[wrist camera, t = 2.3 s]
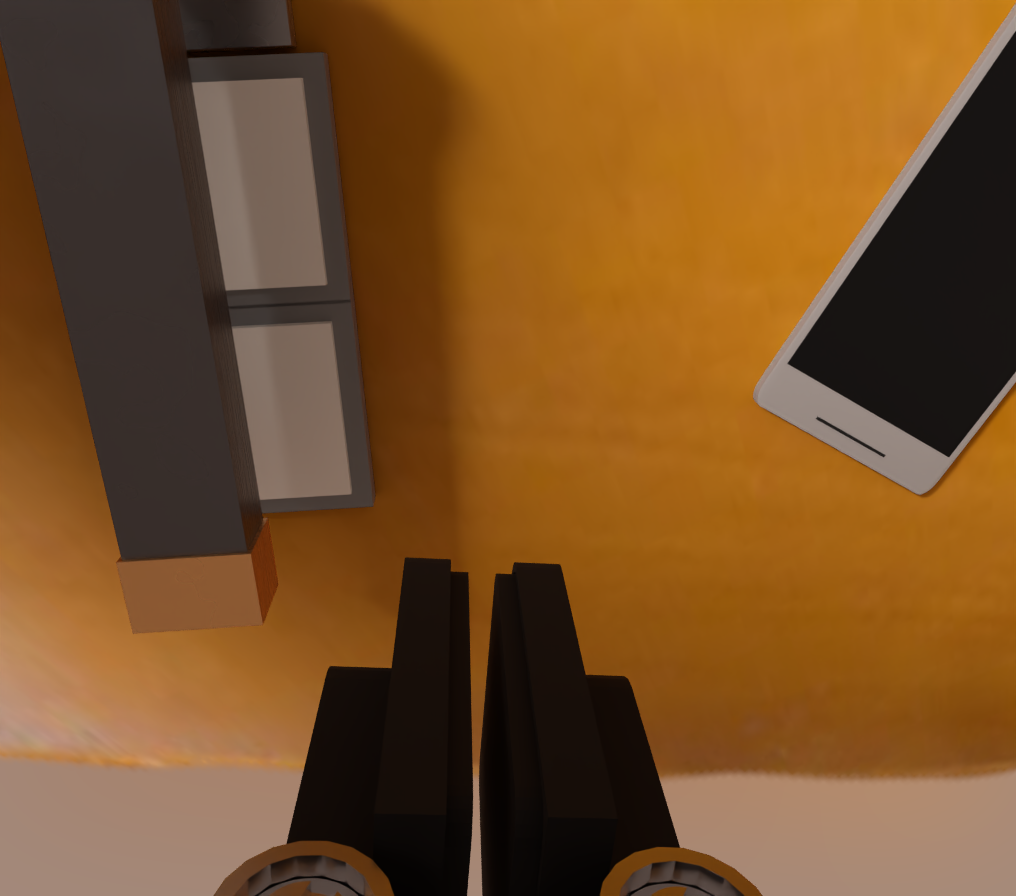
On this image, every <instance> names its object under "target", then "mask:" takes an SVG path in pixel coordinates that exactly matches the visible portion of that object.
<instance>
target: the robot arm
mask: <svg viewBox="0 0 1016 896" xmlns="http://www.w3.org/2000/svg"><path fill="white" fill-rule="evenodd" d="M479 796H480V830H481V858H482V861H481V862H482V895H483V896H762V895H761V893H760V892H759V890H758V889H757V888H756V887H755V886H754V885H753V884H752V883H751V882H750V881H748V880H747V879H746V878H745V877H744V876H742V875H741V874H740V873H739V872H738V871H737V870H735V869H734V868H732V867H730V866H729V865H727V864H725V863H723V862H721V861H719V860H717V859H715V858H714V857H712V856H709V855H707V854H703V853H699V852H696V851H692V850H689V849H685V848H680V846H679V843H678V839H677V836H676V833H675V829H674V826H673V823H672V819H671V816H670V813H669V809H668V806H667V803H666V799H665V796H664V793H663V790H662V786H661V783H660V780H659V776H658V773H657V770H656V766H655V763H654V760H653V756H652V753H651V750H650V746H649V743H648V740H647V736H646V733H645V730H644V726H643V723H642V720H641V717H640V713H639V710H638V707H637V703H636V700H635V697H634V693H633V690H632V687H631V685H630V682H629V680H628V679H627V678H626V677H625V676H603V675H585V670H584V666H583V661H582V657H581V652H580V648H579V644H578V639H577V635H576V630H575V626H574V621H573V617H572V613H571V608H570V604H569V599H568V595H567V590H566V586H565V582H564V577H563V573H562V568H561V566H560V565H559V564H540V563H517V562H514V565H513V570H512V574H496V577H495V585H494V596H493V608H492V620H491V632H490V644H489V656H488V668H487V679H486V691H485V703H484V715H483V727H482V739H481V751H480V767H479ZM472 817H473V768H472V721H471V674H470V627H469V580H468V572H451V560H450V559H427V558H405V562H404V570H403V579H402V587H401V595H400V604H399V612H398V620H397V628H396V637H395V645H394V653H393V662H392V668H369V667H339V666H330V667H329V669H328V671H327V675H326V678H325V682H324V687H323V691H322V695H321V699H320V704H319V708H318V712H317V716H316V721H315V725H314V729H313V733H312V738H311V742H310V746H309V750H308V755H307V759H306V763H305V767H304V772H303V776H302V780H301V784H300V789H299V793H298V798H297V801H296V806H295V810H294V814H293V818H292V823H291V827H290V831H289V835H288V840H287V844H286V845H281V846H277V847H273V848H271V849H269V850H267V851H265V852H263V853H261V854H259V855H257V856H255V857H253V858H251V859H249V860H247V861H245V862H244V863H243V864H242V865H241V866H240V867H238V868H237V869H236V870H235V871H234V872H233V873H231V874H230V875H229V876H228V877H227V878H225V880H224V881H223V883H222V884H221V886H220V887H219V888H218V890H217V891H216V893H215V894H214V896H467V888H468V876H469V864H470V851H471V839H472Z"/></svg>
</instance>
